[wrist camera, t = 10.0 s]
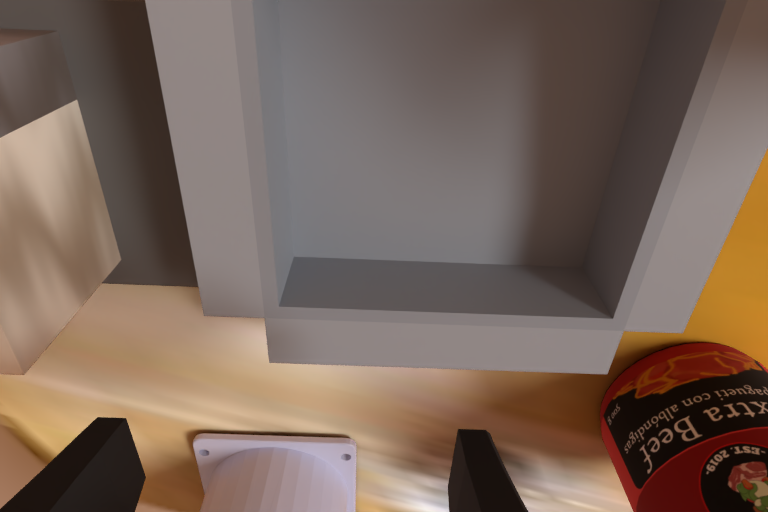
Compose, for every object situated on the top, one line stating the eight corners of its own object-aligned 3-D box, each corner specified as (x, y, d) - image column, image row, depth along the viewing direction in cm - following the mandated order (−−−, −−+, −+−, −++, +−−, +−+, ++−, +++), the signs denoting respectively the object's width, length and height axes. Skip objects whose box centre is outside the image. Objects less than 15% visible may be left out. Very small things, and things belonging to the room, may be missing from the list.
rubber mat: (209, 279, 20) (205, 286, 20) (-44, 270, 20) (-53, 277, 20) (161, 0, 15) (155, 2, 14) (-183, -15, 15) (-200, -14, 14)
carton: (623, 315, 21) (663, 376, 18) (237, 300, 21) (212, 360, 18) (810, -192, 13) (942, -235, 10) (164, -226, 12) (92, -281, 9)
